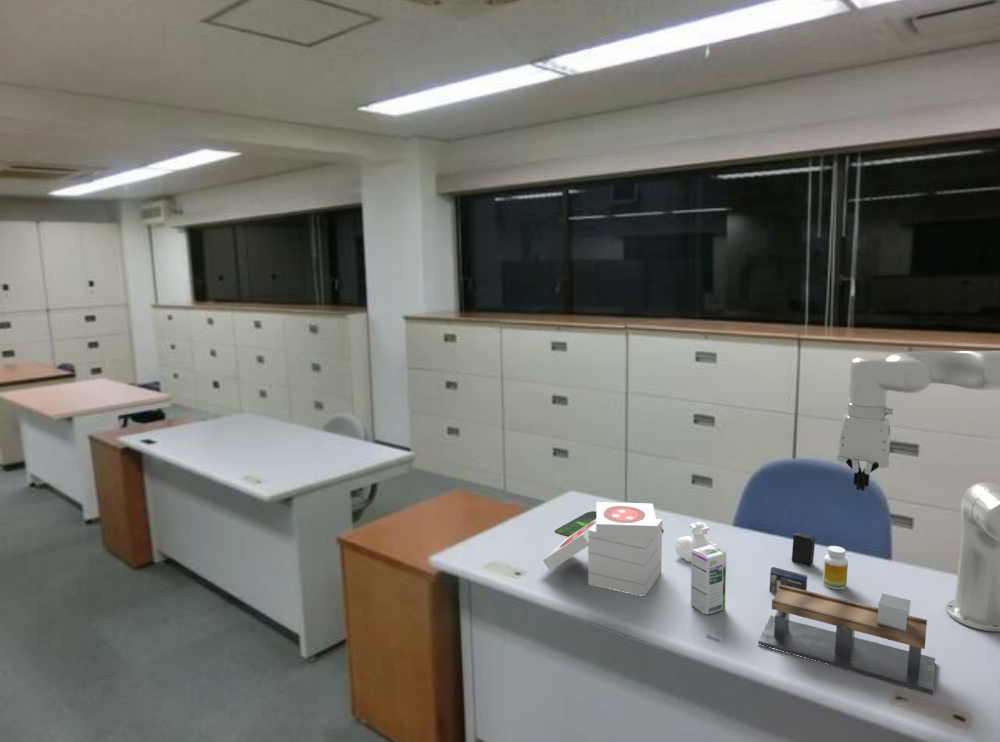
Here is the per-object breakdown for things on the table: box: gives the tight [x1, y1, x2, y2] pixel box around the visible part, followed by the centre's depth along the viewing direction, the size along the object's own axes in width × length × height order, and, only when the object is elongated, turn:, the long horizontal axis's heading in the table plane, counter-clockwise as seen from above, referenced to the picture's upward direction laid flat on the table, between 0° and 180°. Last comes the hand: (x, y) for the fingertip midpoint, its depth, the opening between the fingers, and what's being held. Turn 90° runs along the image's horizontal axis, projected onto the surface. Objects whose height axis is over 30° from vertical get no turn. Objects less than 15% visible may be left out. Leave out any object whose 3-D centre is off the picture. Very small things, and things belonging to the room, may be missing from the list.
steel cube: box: [877, 593, 912, 632], centre depth 136 cm, size 5×5×5 cm
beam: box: [771, 584, 928, 650], centre depth 142 cm, size 28×9×3 cm, turn 57°
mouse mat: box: [554, 510, 664, 538], centre depth 208 cm, size 27×22×1 cm
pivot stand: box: [757, 610, 936, 695], centre depth 143 cm, size 32×12×8 cm, turn 57°
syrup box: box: [690, 545, 727, 616], centre depth 162 cm, size 6×6×14 cm
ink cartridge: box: [791, 532, 816, 567], centre depth 183 cm, size 5×2×8 cm, turn 47°
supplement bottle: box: [822, 545, 849, 590], centre depth 171 cm, size 5×5×10 cm
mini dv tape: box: [769, 566, 808, 594], centre depth 167 cm, size 8×2×6 cm, turn 53°
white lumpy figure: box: [675, 521, 719, 563], centre depth 188 cm, size 12×8×11 cm
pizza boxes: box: [542, 501, 663, 597], centre depth 179 cm, size 19×30×18 cm, turn 61°
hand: (860, 488), depth 157 cm, fingers closed
